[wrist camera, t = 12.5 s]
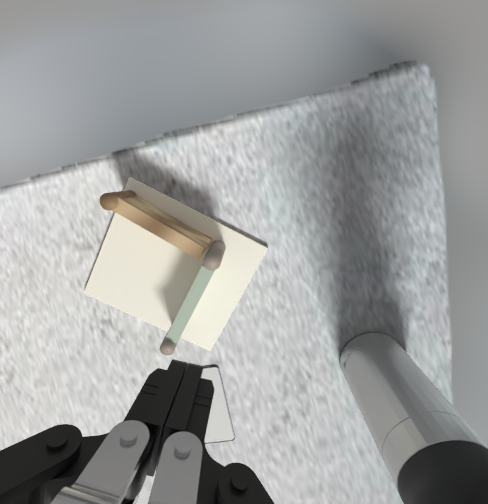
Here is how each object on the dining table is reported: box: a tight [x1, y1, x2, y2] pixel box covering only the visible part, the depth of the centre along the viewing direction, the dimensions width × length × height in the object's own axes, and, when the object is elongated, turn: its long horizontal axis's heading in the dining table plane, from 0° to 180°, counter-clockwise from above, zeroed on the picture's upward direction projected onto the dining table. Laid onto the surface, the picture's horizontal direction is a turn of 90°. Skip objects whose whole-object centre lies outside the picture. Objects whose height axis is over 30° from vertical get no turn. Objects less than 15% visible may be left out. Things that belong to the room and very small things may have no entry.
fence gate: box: [100, 190, 211, 260], centre depth 33 cm, size 12×2×6 cm, turn 59°
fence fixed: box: [160, 240, 226, 355], centre depth 36 cm, size 2×15×7 cm, turn 152°
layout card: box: [84, 177, 268, 351], centre depth 39 cm, size 20×18×1 cm
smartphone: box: [201, 365, 235, 444], centre depth 45 cm, size 7×1×15 cm
